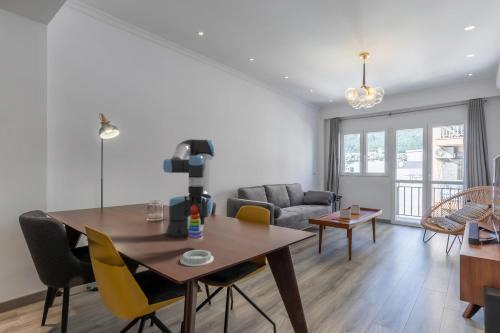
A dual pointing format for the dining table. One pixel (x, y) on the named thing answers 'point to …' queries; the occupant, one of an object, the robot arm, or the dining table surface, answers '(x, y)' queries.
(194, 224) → the stacking toy
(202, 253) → the collar base
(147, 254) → the dining table surface
